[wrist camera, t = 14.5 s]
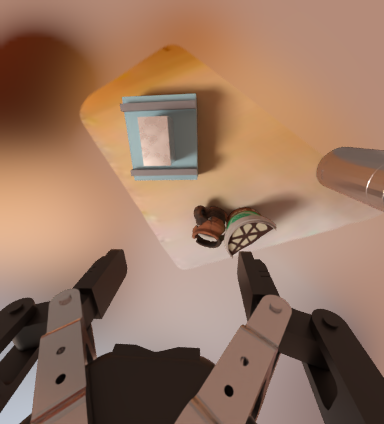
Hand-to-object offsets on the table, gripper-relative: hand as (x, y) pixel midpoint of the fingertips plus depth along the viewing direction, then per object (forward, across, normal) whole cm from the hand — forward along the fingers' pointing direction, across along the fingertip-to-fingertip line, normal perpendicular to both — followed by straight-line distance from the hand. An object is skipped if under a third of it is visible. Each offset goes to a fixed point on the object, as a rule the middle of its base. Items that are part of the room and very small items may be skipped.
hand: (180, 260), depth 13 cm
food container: (+34, -10, +12) cm, 38 cm away
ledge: (+34, +7, -7) cm, 36 cm away
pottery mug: (+34, -3, +13) cm, 37 cm away
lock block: (+29, +7, -7) cm, 31 cm away
